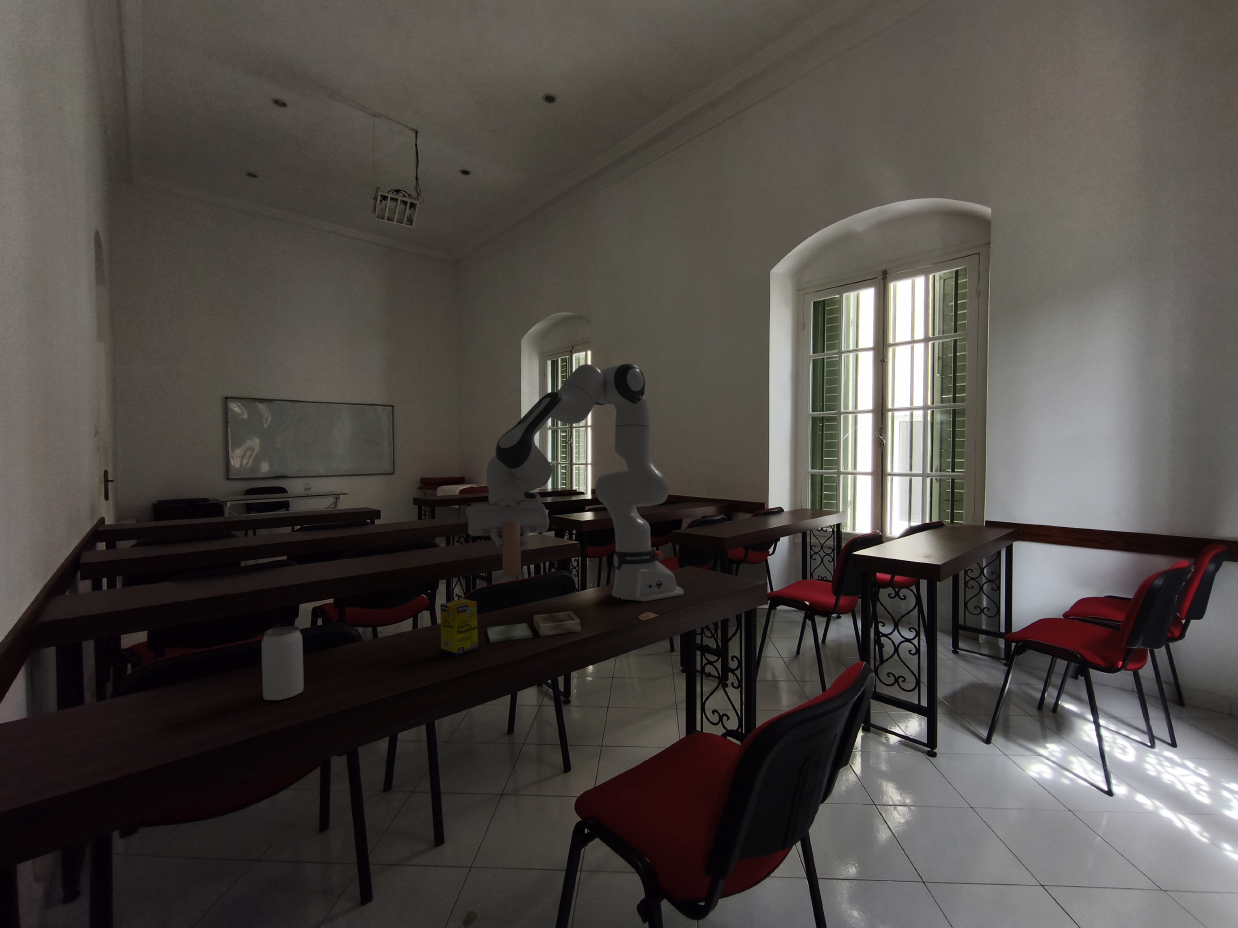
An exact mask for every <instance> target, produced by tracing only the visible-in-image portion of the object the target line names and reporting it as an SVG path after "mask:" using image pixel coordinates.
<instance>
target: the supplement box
mask: <svg viewBox="0 0 1238 928" xmlns="http://www.w3.org/2000/svg"><path fill="white" fill-rule="evenodd" d="M477 603H478V601H474V600H469V599H465V598H460V599H456V600H452V601H448V602H442V603H440V606H439V608H440V609H439V611H440V647H441V649H440V650H441V653H445V654H447V655H450V656H451V655H452V656H454V657H458V656H461V655H464V654H467V653H469V652H472V651H476V650H477V651H478V649H479V647H478V645H479V643H478V642H479V641H478V640H479V638H478V604H477Z"/></svg>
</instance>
